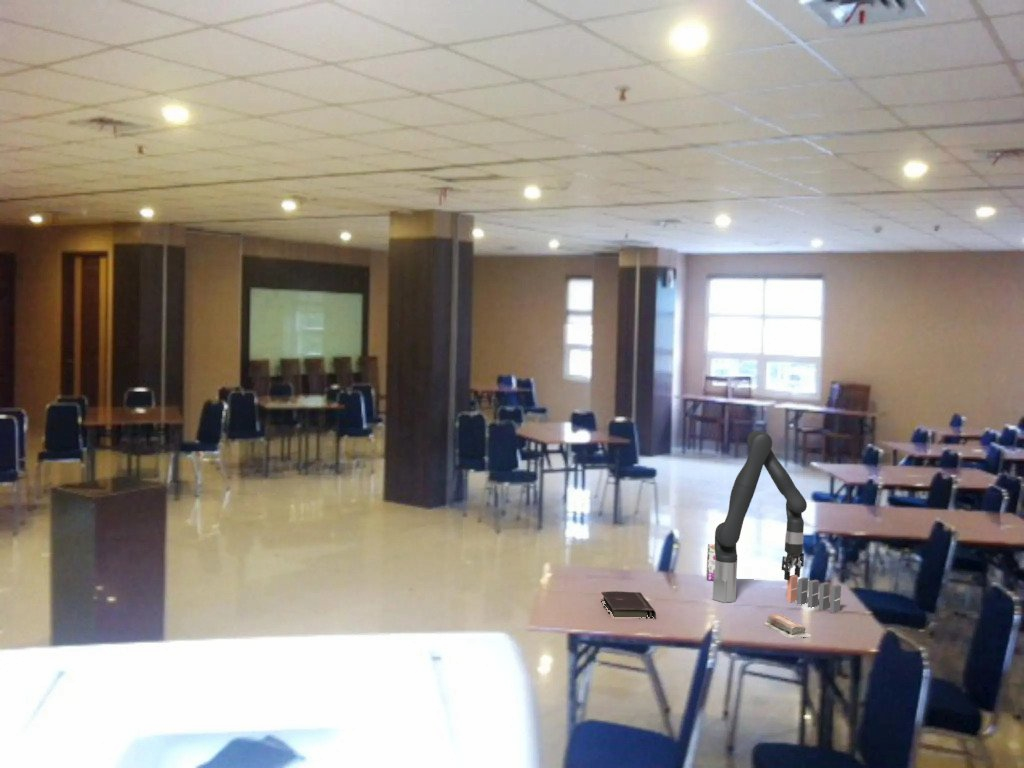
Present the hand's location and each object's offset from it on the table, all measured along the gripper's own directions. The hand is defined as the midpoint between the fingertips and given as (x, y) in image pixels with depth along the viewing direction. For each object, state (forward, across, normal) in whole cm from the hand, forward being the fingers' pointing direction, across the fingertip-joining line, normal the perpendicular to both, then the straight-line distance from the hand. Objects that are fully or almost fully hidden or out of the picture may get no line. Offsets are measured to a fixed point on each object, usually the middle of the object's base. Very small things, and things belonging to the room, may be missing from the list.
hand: (791, 578), depth 410 cm
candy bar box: (+11, -4, -40) cm, 41 cm away
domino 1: (+10, 0, 0) cm, 10 cm away
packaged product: (+11, +38, +20) cm, 44 cm away
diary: (+12, +66, -37) cm, 77 cm away
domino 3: (+10, 0, +10) cm, 14 cm away
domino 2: (+10, 0, +5) cm, 11 cm away
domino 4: (+10, 0, +15) cm, 18 cm away
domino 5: (+10, 0, +20) cm, 22 cm away
